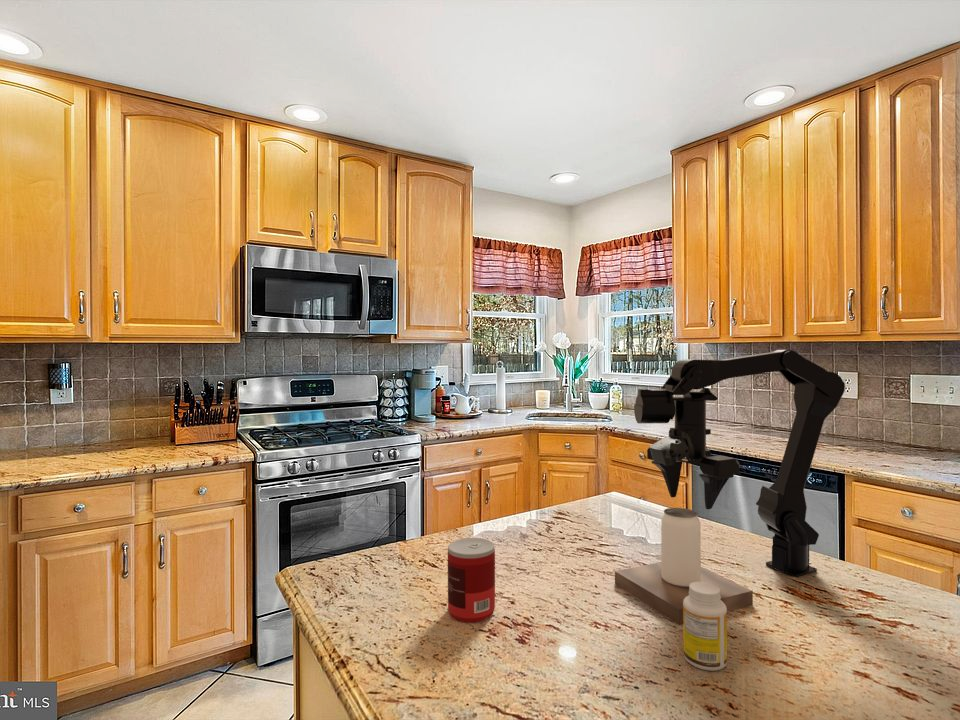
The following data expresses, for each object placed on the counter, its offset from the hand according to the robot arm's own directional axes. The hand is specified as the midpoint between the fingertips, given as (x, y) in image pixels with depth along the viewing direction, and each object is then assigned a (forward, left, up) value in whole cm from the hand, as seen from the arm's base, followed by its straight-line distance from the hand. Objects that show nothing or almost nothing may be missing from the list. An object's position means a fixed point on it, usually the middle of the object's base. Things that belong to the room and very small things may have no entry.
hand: (690, 502), depth 106 cm
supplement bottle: (+22, +25, -13) cm, 36 cm away
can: (+10, +8, -11) cm, 17 cm away
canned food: (+46, -1, -13) cm, 48 cm away
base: (+10, +8, -13) cm, 18 cm away
